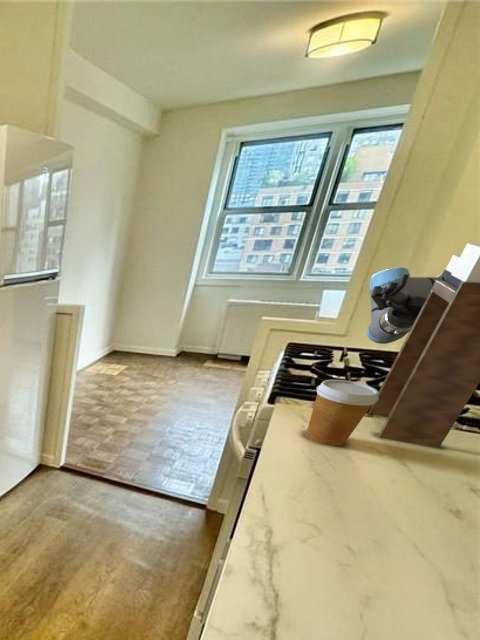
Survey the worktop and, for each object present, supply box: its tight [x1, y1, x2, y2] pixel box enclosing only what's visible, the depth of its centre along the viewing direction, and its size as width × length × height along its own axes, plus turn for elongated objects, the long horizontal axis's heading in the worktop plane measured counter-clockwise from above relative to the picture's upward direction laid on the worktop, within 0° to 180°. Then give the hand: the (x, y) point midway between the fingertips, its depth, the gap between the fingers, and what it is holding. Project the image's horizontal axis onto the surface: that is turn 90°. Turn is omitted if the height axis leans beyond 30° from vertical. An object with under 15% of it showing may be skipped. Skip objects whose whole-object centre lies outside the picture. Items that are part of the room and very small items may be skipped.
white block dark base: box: [441, 242, 480, 287], centre depth 95 cm, size 6×18×7 cm, turn 145°
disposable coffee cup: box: [305, 379, 379, 447], centre depth 100 cm, size 10×10×12 cm
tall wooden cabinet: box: [368, 280, 480, 449], centre depth 98 cm, size 9×16×32 cm, turn 145°
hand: (447, 282), depth 106 cm, fingers open, 13 cm apart
